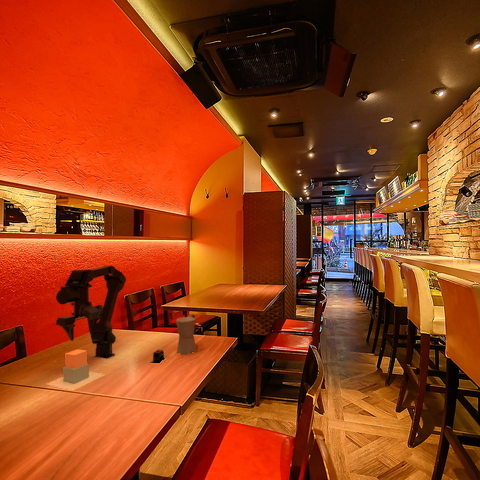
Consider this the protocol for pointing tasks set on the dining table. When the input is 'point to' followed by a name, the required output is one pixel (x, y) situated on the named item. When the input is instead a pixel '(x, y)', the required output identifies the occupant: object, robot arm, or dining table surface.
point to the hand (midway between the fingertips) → (82, 337)
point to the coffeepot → (186, 334)
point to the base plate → (71, 386)
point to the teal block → (75, 374)
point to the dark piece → (158, 356)
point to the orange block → (76, 359)
